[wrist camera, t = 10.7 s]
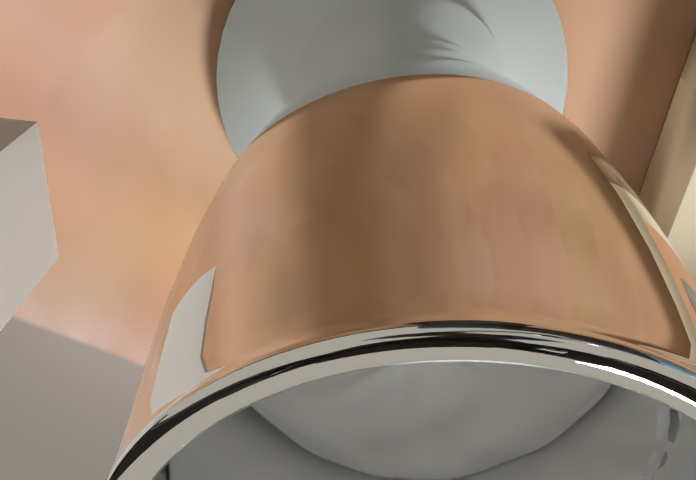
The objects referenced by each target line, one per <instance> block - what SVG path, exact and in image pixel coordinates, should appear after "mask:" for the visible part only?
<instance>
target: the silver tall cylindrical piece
mask: <svg viewBox="0 0 696 480" xmlns="http://www.w3.org/2000/svg"><path fill="white" fill-rule="evenodd" d="M105 480H696V284H695V282H694V281H693V279H692V277H691V275H690V274H689V272H688V270H687V269H686V267H685V265H684V263H683V262H682V260H681V258H680V257H679V255H678V254H677V252H676V251H675V249H674V248H673V246H672V245H671V243H670V242H669V240H668V239H667V237H666V236H665V234H664V233H663V231H662V230H661V229H660V227H659V226H658V224H657V223H656V221H655V220H654V218H653V217H652V215H651V214H650V212H649V211H648V209H647V208H646V206H645V205H644V203H643V202H642V200H641V199H640V198H639V196H638V195H637V193H636V192H635V191H634V189H633V188H632V187H631V186H630V185H629V183H628V182H627V181H626V180H625V179H624V177H623V176H622V175H621V174H620V173H619V172H618V171H617V169H616V168H615V167H614V166H613V165H612V164H611V162H610V161H609V160H608V159H607V158H606V157H605V156H604V154H603V153H602V152H601V151H600V150H599V149H598V148H597V146H596V145H595V144H594V143H593V142H592V141H591V140H590V139H589V138H588V136H587V135H586V134H585V133H584V132H582V131H581V130H580V129H579V128H578V127H577V126H576V125H575V124H574V123H572V122H571V121H570V120H569V119H567V118H566V117H565V116H563V115H562V114H561V113H560V112H558V111H557V110H556V109H554V108H553V107H552V106H550V105H549V104H548V103H546V102H545V101H544V100H543V99H541V98H540V97H539V96H537V95H536V94H535V93H533V92H532V91H530V90H529V89H527V88H526V87H524V86H523V85H521V84H519V83H518V82H516V81H514V80H512V79H510V78H508V77H507V76H506V69H505V64H504V61H503V57H502V54H501V52H500V50H499V47H498V45H497V43H496V41H495V39H494V37H493V36H492V34H491V33H490V31H489V30H488V28H487V27H486V26H485V24H484V23H483V22H482V21H481V20H480V19H479V18H478V17H477V16H476V15H475V14H474V13H473V12H472V11H471V10H470V9H468V8H467V7H466V6H464V5H463V4H461V3H460V2H458V1H457V0H347V1H346V2H344V3H342V4H341V5H339V6H338V7H337V8H335V9H334V10H333V11H331V12H330V13H329V14H328V15H327V16H326V17H325V18H324V19H323V20H322V21H321V22H320V23H319V24H318V25H317V26H316V28H315V29H314V30H313V31H312V33H311V34H310V36H309V37H308V39H307V41H306V42H305V44H304V46H303V48H302V50H301V52H300V55H299V57H298V60H297V63H296V67H295V71H294V77H293V84H292V100H291V101H290V102H289V103H288V104H287V105H286V106H284V107H283V108H282V109H281V110H280V111H279V112H278V113H277V114H276V115H275V116H274V117H273V118H272V119H271V120H270V121H269V122H268V123H267V125H266V126H265V127H264V128H263V129H262V130H261V132H260V133H259V134H258V135H257V136H256V137H255V139H254V140H253V141H252V142H251V143H250V144H249V146H248V147H247V148H246V149H245V150H244V152H243V153H242V154H241V155H240V156H239V158H238V159H237V160H236V162H235V163H234V165H233V166H232V168H231V169H230V171H229V172H228V174H227V176H226V177H225V179H224V181H223V182H222V184H221V186H220V188H219V189H218V191H217V193H216V195H215V197H214V198H213V200H212V202H211V204H210V206H209V207H208V209H207V211H206V213H205V214H204V216H203V218H202V220H201V222H200V224H199V226H198V228H197V230H196V232H195V234H194V236H193V239H192V241H191V243H190V246H189V248H188V250H187V253H186V255H185V258H184V260H183V262H182V265H181V267H180V270H179V272H178V274H177V277H176V279H175V282H174V284H173V286H172V289H171V291H170V294H169V296H168V299H167V302H166V304H165V307H164V310H163V313H162V316H161V319H160V322H159V325H158V328H157V331H156V334H155V337H154V340H153V343H152V346H151V349H150V352H149V355H148V358H147V361H146V364H145V367H144V370H143V373H142V377H141V380H140V383H139V387H138V390H137V393H136V396H135V400H134V403H133V406H132V410H131V413H130V416H129V419H128V423H127V425H126V428H125V432H124V434H123V438H122V440H121V444H120V446H119V449H118V452H117V455H116V458H115V461H114V464H113V466H112V468H111V470H110V472H109V474H108V475H107V477H106V479H105Z"/></svg>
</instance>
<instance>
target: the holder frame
mask: <svg viewBox="0 0 696 480" xmlns="http://www.w3.org/2000/svg"><path fill="white" fill-rule="evenodd" d="M639 198H640V199H641V200H642V202H643V203H644V205H645V206H646V208H647V209H648V211H649V212H650V214H651V215H652V217H653V218H654V220H655V221H656V223H657V224H658V226H659V227H660V229H661V230H662V231H663V233H664V234H665V236H666V237H667V239H668V240H669V242H670V243H671V245H672V246H673V248H674V249H675V251H676V252H677V254H678V255H679V257H680V258H681V260H682V262H683V263H684V265H685V267H686V269H687V270H688V272H689V274H690V275H691V277H692V279H693V281H694V282H695V284H696V35H695V37H694V40H693V43H692V46H691V49H690V52H689V54H688V57H687V60H686V63H685V66H684V69H683V72H682V74H681V77H680V80H679V83H678V86H677V89H676V91H675V94H674V97H673V100H672V103H671V106H670V108H669V111H668V114H667V117H666V120H665V123H664V126H663V128H662V131H661V134H660V137H659V140H658V143H657V145H656V148H655V151H654V154H653V157H652V160H651V162H650V165H649V168H648V171H647V174H646V177H645V180H644V182H643V185H642V188H641V191H640V194H639Z"/></svg>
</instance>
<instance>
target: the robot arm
mask: <svg viewBox="0 0 696 480" xmlns="http://www.w3.org/2000/svg"><path fill="white" fill-rule="evenodd" d="M58 258H59V255H58V249H57V242H56V236H55V229H54V223H53V217H52V210H51V204H50V197H49V191H48V185H47V178H46V172H45V166H44V159H43V153H42V146H41V140H40V134H39V127H38V122H33V121H24V120H14V119H5V118H0V331H1V330H2V329H3V327H4V326H5V325H6V324H7V322H8V321H9V320H10V319H11V317H12V316H13V315H14V314H15V312H16V311H17V310H18V308H19V307H20V306H21V305H22V303H23V302H24V301H25V300H26V298H27V297H28V296H29V295H30V293H31V292H32V291H33V290H34V288H35V287H36V286H37V284H38V283H39V282H40V281H41V279H42V278H43V277H44V276H45V274H46V273H47V272H48V271H49V269H50V268H51V267H52V266H53V264H54V263H55V262H56V260H57V259H58Z"/></svg>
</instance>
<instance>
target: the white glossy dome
mask: <svg viewBox="0 0 696 480" xmlns="http://www.w3.org/2000/svg"><path fill="white" fill-rule="evenodd" d="M346 1H347V0H235V2H234V4H233V6H232V8H231V10H230V12H229V15H228V18H227V21H226V24H225V27H224V30H223V33H222V38H221V43H220V48H219V53H218V61H217V78H216V80H217V93H218V103H219V108H220V113H221V118H222V122H223V125H224V128H225V131H226V134H227V137H228V140H229V143H230V145H231V147H232V149H233V151H234V153H235V155H236V157H237V159H238V158H239V156H240V155H241V154H242V153H243V152H244V150H245V149H246V148H247V147H248V146H249V144H250V143H251V142H252V141H253V140H254V139H255V137H256V136H257V135H258V134H259V133H260V132H261V130H262V129H263V128H264V127H265V126H266V125H267V123H268V122H269V121H270V120H271V119H272V118H273V117H274V116H275V115H276V114H277V113H278V112H279V111H280V110H281V109H282V108H283V107H284V106H286V105H287V104H288V103H289V102H290V101H291V100H292V84H293V77H294V71H295V67H296V63H297V60H298V57H299V55H300V52H301V50H302V48H303V46H304V44H305V42H306V41H307V39H308V37H309V36H310V34H311V33H312V31H313V30H314V29H315V28H316V26H317V25H318V24H319V23H320V22H321V21H322V20H323V19H324V18H325V17H326V16H327V15H328V14H329V13H330V12H331V11H333V10H334V9H335V8H337V7H338V6H339V5H341V4H342V3H344V2H346ZM457 1H458V2H460V3H461V4H463V5H464V6H466V7H467V8H468V9H470V10H471V11H472V12H473V13H474V14H475V15H476V16H477V17H478V18H479V19H480V20H481V21H482V22H483V23H484V24H485V26H486V27H487V28H488V30H489V31H490V33H491V34H492V36H493V37H494V39H495V41H496V43H497V45H498V47H499V50H500V52H501V54H502V57H503V61H504V64H505V69H506V76H507V77H508V78H510V79H512V80H514V81H516V82H518V83H519V84H521V85H523V86H524V87H526V88H527V89H529V90H530V91H532V92H533V93H535V94H536V95H537V96H539V97H540V98H541V99H543V100H544V101H545V102H546V103H548V104H549V105H550V106H552V107H553V108H554V109H556V110H557V111H558V112H560V113H561V114H563V108H564V103H565V98H566V93H567V79H568V61H567V48H566V42H565V38H564V33H563V29H562V24H561V21H560V18H559V16H558V13H557V10H556V8H555V5H554V2H553V0H457Z"/></svg>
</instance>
